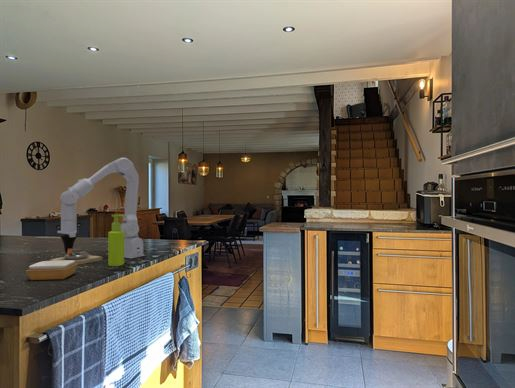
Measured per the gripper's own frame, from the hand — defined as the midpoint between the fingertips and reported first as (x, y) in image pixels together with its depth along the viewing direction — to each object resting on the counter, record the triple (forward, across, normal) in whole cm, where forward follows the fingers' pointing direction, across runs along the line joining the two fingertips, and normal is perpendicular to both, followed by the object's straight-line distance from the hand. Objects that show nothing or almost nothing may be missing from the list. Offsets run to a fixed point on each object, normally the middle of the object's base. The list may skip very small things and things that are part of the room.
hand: (68, 252), depth 143 cm
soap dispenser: (+4, +18, +14) cm, 23 cm away
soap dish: (+4, +25, -10) cm, 27 cm away
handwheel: (+2, 0, +3) cm, 4 cm away
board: (+4, 0, +3) cm, 5 cm away
